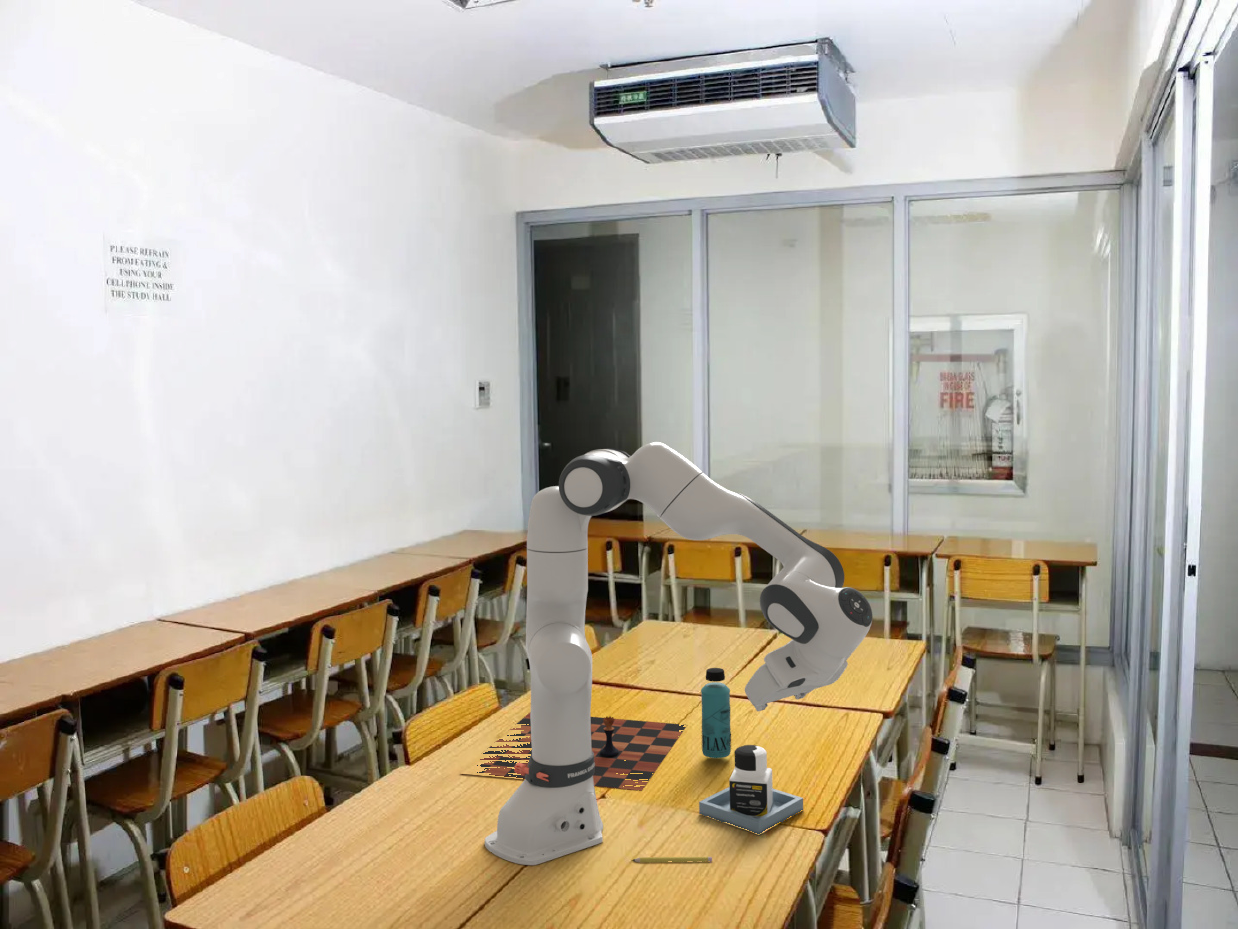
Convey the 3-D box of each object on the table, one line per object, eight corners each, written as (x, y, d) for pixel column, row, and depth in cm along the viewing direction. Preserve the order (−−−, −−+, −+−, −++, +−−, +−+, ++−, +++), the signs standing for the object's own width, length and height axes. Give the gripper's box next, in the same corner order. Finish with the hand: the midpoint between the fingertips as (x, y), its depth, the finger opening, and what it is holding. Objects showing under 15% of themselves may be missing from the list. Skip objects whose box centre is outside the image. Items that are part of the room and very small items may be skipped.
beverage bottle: (696, 762, 225) (694, 671, 223) (708, 752, 231) (706, 663, 229) (725, 767, 222) (723, 675, 220) (736, 756, 228) (734, 666, 226)
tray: (759, 835, 189) (758, 822, 189) (699, 814, 199) (699, 801, 199) (803, 810, 199) (803, 798, 199) (744, 791, 209) (744, 779, 209)
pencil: (630, 861, 182) (630, 856, 181) (711, 861, 181) (711, 855, 181) (630, 864, 181) (630, 858, 180) (712, 864, 180) (712, 858, 180)
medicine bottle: (729, 815, 197) (728, 753, 196) (736, 800, 204) (734, 740, 202) (767, 819, 195) (766, 756, 194) (773, 803, 202) (771, 743, 200)
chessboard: (460, 776, 223) (459, 725, 222) (530, 715, 261) (529, 672, 260) (641, 795, 211) (641, 742, 210) (687, 729, 249) (686, 684, 248)
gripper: (845, 633, 189) (810, 675, 198) (759, 655, 178) (726, 699, 187) (865, 661, 186) (828, 703, 195) (778, 686, 175) (744, 729, 184)
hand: (778, 701), depth 191 cm, fingers open, 8 cm apart
